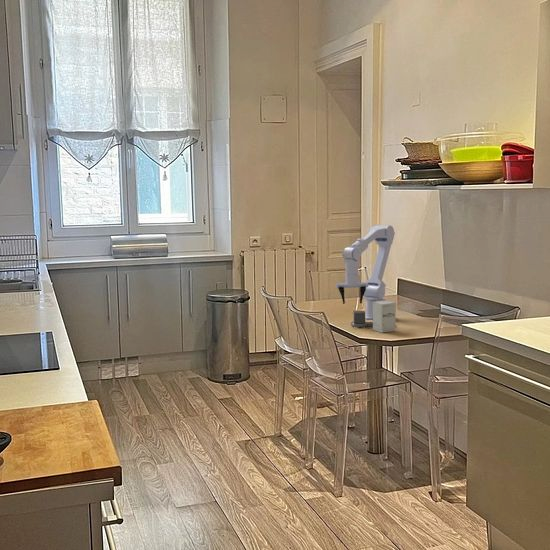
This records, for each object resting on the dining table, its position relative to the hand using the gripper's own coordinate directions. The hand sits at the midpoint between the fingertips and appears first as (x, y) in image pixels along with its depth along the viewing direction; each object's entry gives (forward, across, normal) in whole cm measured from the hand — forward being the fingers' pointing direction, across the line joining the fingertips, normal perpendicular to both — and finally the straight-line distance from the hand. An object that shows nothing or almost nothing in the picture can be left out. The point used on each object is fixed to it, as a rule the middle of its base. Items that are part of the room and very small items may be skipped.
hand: (352, 303), depth 320 cm
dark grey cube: (+8, +3, -6) cm, 10 cm away
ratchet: (+9, +8, -6) cm, 14 cm away
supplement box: (+10, +12, -16) cm, 22 cm away
